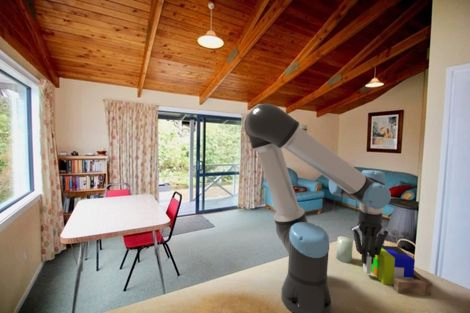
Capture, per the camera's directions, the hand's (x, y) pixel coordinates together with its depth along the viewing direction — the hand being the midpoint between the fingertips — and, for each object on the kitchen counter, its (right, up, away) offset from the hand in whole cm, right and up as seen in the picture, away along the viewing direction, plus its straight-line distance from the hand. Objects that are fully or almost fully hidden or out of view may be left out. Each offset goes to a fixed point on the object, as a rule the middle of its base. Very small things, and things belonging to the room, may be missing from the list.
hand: (366, 271), depth 84 cm
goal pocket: (+11, -2, -1) cm, 11 cm away
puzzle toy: (+9, -2, 0) cm, 9 cm away
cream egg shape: (-3, -1, +12) cm, 13 cm away
